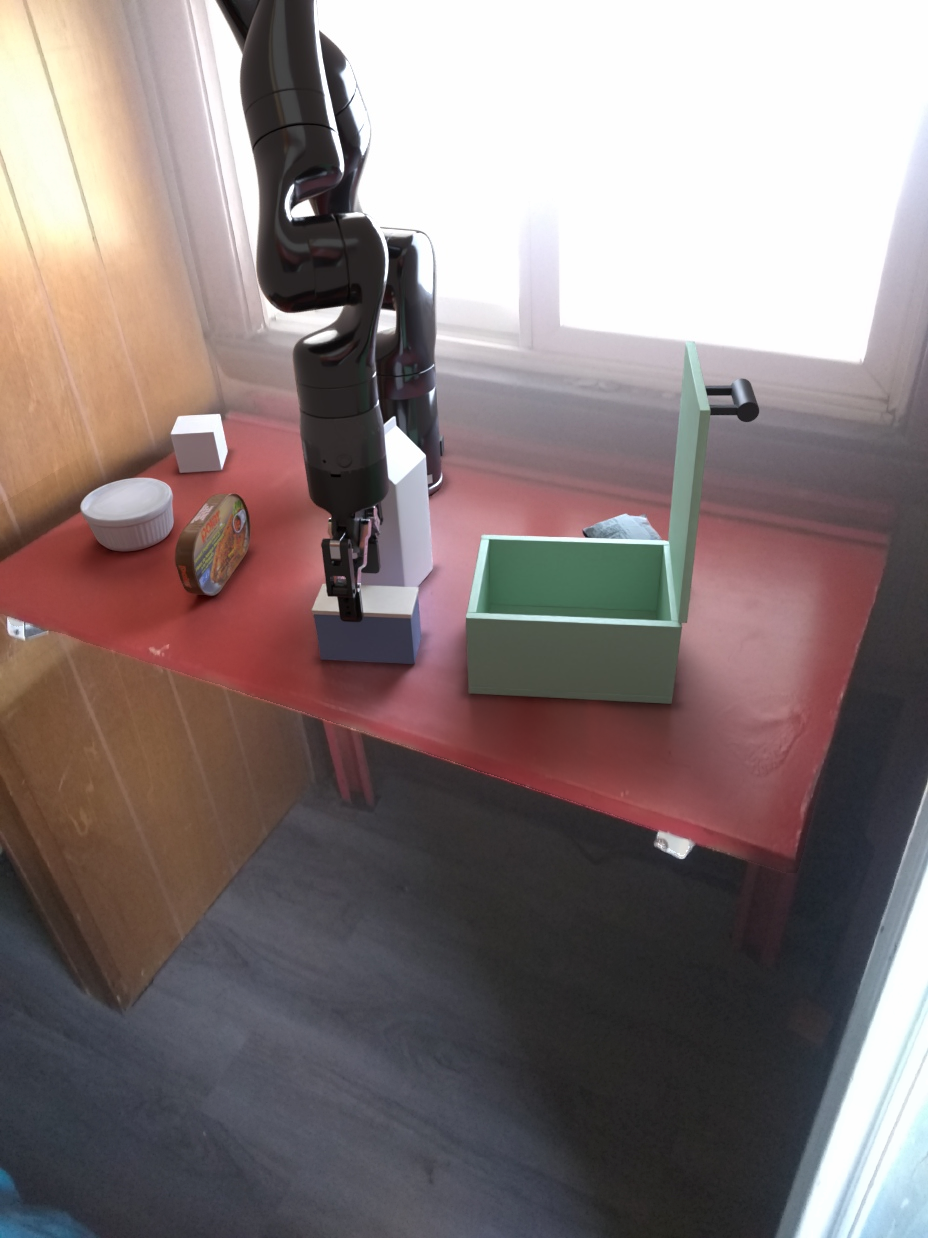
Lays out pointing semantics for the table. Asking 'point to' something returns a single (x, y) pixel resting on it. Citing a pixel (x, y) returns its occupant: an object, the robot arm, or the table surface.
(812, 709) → the table surface
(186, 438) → the white cube
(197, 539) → the tin
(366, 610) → the snack box
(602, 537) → the packaged food
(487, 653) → the box
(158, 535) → the ramekin
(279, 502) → the table surface
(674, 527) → the lid
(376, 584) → the milk carton
